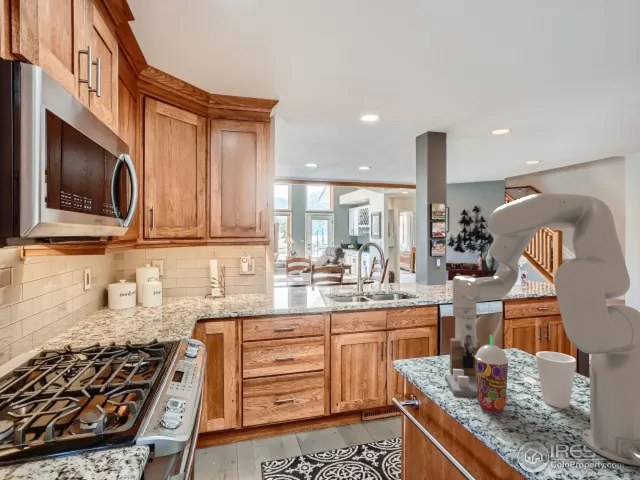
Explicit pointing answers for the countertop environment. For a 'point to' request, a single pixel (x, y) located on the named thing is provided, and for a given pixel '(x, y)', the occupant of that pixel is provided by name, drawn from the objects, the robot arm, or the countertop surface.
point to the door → (461, 357)
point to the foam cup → (556, 377)
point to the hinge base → (462, 383)
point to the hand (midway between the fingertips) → (464, 363)
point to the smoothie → (491, 377)
